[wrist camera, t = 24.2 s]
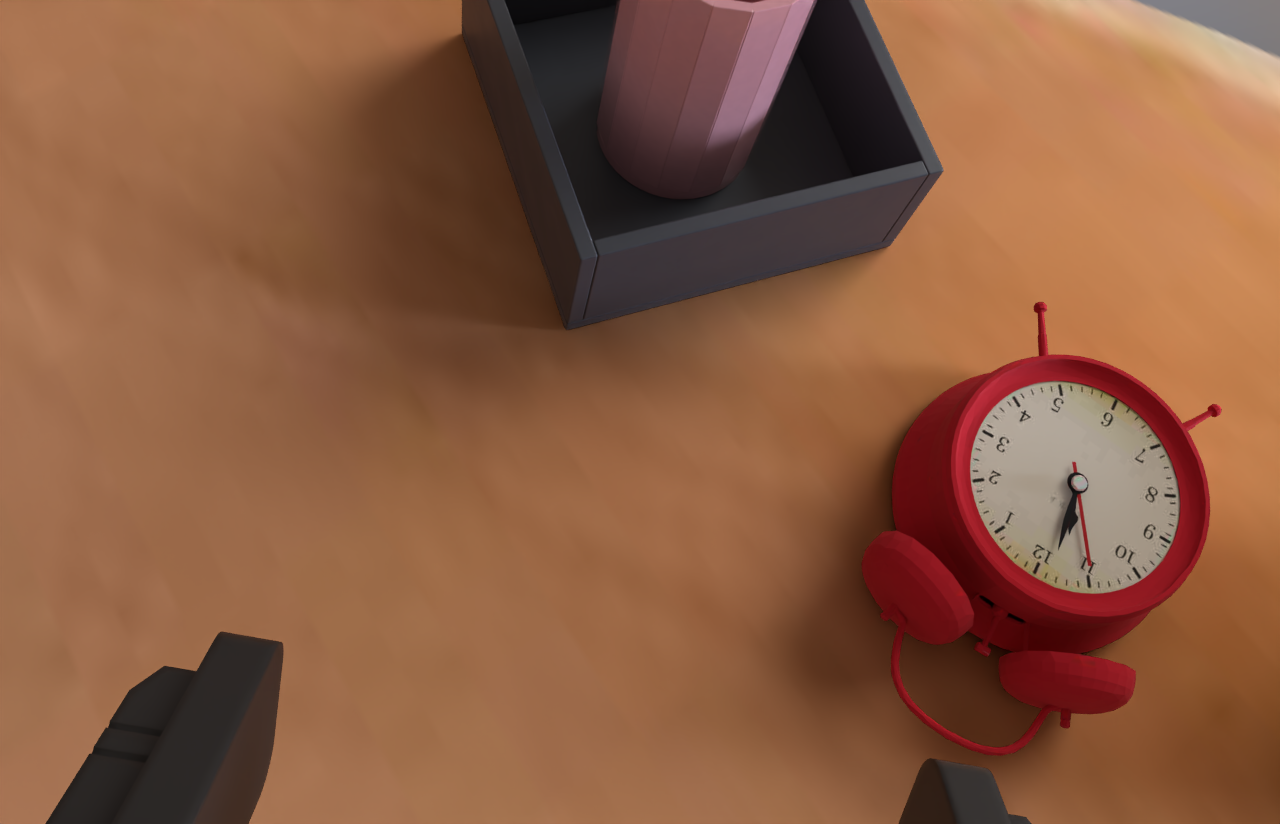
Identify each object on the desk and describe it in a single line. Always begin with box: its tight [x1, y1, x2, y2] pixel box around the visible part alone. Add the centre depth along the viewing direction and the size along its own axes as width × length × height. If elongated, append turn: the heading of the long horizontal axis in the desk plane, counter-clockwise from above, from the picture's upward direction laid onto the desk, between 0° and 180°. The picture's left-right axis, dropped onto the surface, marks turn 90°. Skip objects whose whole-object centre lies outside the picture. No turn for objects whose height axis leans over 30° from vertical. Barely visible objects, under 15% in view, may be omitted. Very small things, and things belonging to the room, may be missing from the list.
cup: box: [596, 0, 817, 199], centre depth 42 cm, size 6×6×11 cm
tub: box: [462, 0, 943, 330], centre depth 45 cm, size 13×13×6 cm
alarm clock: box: [862, 302, 1221, 756], centre depth 41 cm, size 10×6×15 cm
